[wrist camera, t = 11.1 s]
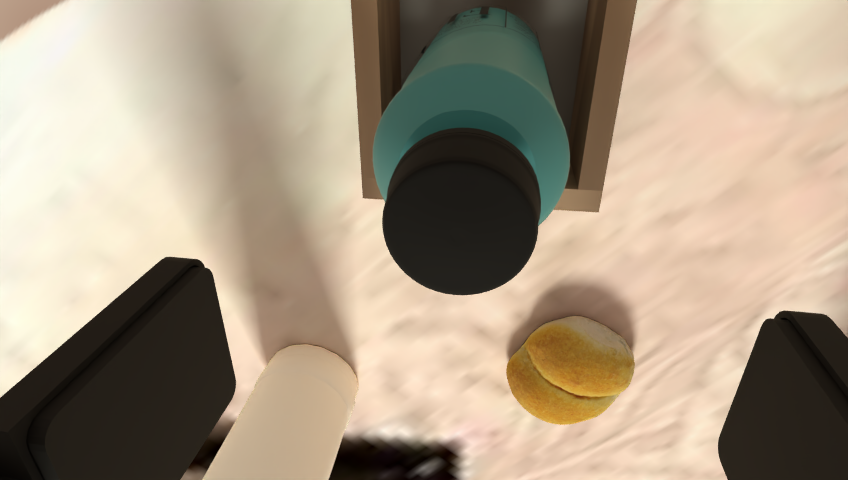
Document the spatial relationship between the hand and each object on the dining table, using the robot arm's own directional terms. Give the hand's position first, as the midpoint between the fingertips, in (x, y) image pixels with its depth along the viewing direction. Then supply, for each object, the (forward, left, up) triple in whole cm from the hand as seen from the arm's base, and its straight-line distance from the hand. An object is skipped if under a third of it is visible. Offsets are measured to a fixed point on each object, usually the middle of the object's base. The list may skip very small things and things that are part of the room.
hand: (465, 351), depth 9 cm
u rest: (0, 0, -24) cm, 24 cm away
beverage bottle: (+1, 0, -24) cm, 24 cm away
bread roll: (-7, +21, -25) cm, 33 cm away
